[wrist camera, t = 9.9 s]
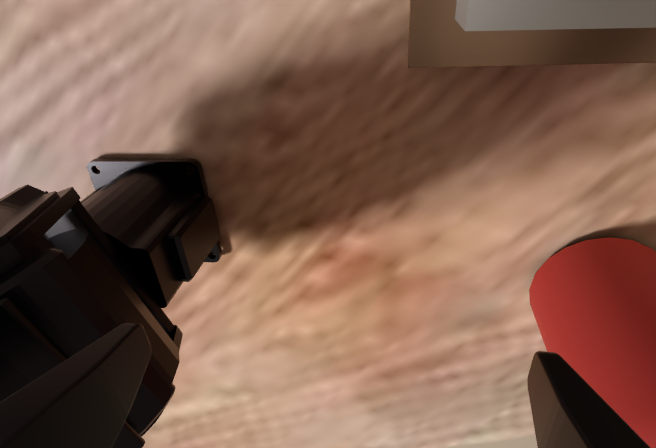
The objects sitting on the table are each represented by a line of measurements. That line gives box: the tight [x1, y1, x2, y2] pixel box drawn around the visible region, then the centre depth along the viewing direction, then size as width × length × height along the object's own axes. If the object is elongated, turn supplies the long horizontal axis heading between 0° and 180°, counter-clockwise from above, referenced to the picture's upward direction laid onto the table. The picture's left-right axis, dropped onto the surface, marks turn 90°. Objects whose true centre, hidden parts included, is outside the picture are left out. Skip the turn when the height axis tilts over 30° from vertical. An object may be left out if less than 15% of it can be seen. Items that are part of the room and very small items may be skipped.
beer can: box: [529, 237, 656, 448], centre depth 18 cm, size 7×7×12 cm
